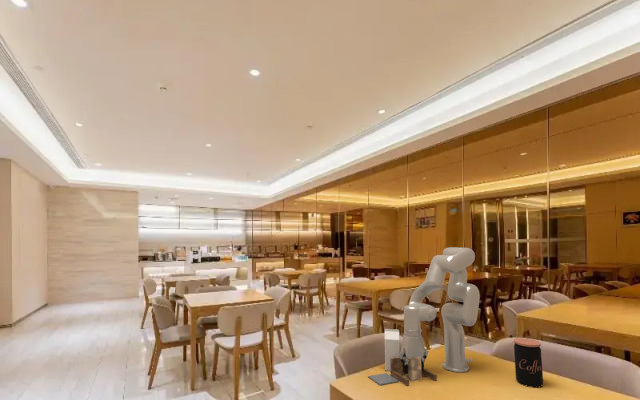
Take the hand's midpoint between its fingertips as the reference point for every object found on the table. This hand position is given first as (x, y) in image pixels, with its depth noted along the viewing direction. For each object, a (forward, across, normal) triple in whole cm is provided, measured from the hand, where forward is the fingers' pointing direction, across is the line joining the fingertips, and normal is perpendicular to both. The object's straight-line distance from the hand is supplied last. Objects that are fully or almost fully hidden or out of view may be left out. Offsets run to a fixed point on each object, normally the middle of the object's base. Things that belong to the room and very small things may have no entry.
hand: (413, 371), depth 161 cm
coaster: (+3, +14, -4) cm, 15 cm away
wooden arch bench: (+3, 0, 0) cm, 3 cm away
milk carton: (+3, +2, -14) cm, 15 cm away
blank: (+3, 0, 0) cm, 3 cm away
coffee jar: (+3, -45, +24) cm, 51 cm away
